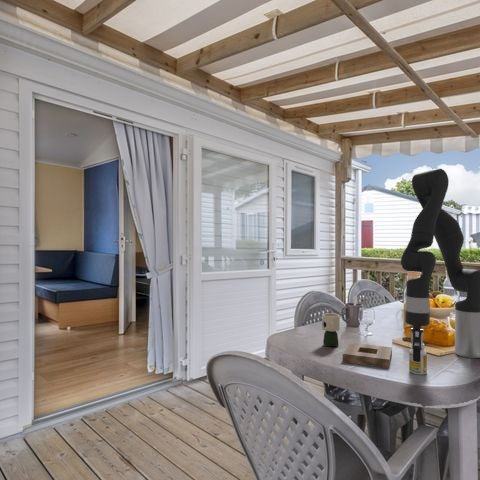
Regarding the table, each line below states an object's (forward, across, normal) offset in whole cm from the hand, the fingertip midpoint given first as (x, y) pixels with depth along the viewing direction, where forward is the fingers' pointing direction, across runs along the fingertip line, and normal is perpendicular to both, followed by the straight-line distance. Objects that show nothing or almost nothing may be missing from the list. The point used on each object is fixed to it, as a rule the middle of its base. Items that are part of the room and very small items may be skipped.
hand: (416, 357), depth 129 cm
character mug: (+5, +19, +33) cm, 38 cm away
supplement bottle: (+5, 0, 0) cm, 5 cm away
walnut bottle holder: (+5, +8, +17) cm, 19 cm away
